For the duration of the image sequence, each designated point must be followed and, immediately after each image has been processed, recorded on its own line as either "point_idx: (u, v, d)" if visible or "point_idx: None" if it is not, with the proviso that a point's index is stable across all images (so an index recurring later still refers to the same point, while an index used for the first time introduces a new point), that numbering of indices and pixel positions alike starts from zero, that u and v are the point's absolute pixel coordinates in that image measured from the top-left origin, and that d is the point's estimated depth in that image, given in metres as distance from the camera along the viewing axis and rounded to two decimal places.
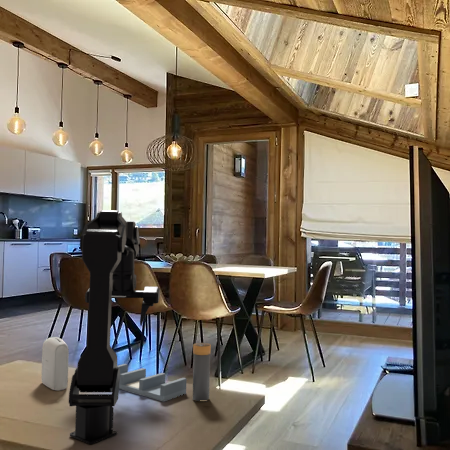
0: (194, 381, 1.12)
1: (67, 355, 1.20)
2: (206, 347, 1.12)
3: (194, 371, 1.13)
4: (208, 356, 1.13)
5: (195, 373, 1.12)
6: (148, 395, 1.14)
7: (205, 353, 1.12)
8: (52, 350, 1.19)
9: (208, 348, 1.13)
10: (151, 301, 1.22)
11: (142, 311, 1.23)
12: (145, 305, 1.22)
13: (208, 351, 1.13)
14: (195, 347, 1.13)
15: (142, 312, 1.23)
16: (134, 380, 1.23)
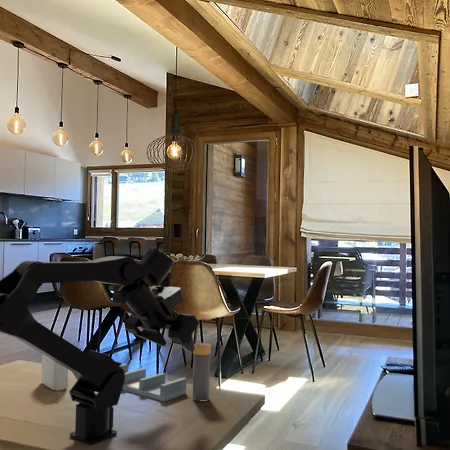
0: (194, 381, 1.12)
1: None
2: (206, 347, 1.12)
3: (194, 371, 1.13)
4: (208, 356, 1.13)
5: (195, 373, 1.12)
6: (148, 395, 1.14)
7: (205, 353, 1.12)
8: None
9: (208, 348, 1.13)
10: (178, 341, 0.98)
11: None
12: (176, 343, 1.00)
13: (208, 351, 1.13)
14: (195, 347, 1.13)
15: (180, 346, 1.02)
16: (134, 380, 1.23)
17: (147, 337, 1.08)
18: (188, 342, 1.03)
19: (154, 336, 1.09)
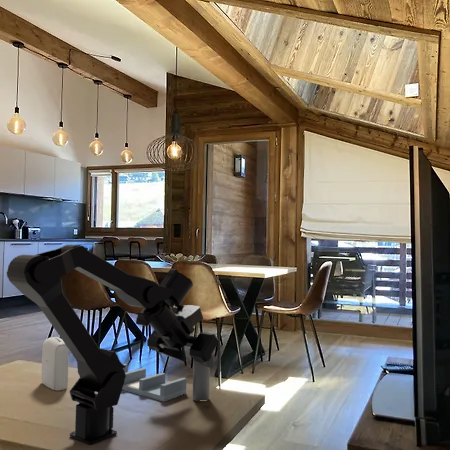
0: (194, 381, 1.12)
1: (67, 355, 1.20)
2: None
3: (194, 371, 1.13)
4: None
5: (195, 373, 1.12)
6: (148, 395, 1.14)
7: None
8: (52, 350, 1.19)
9: None
10: (199, 359, 1.02)
11: (200, 363, 1.06)
12: (197, 361, 1.04)
13: None
14: None
15: (201, 363, 1.06)
16: (134, 380, 1.23)
17: (168, 354, 1.12)
18: (208, 359, 1.07)
19: (175, 352, 1.14)
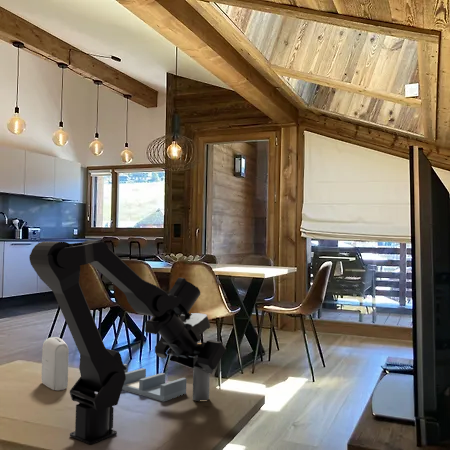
0: (194, 380, 1.12)
1: (67, 355, 1.20)
2: None
3: (194, 371, 1.13)
4: None
5: (195, 373, 1.12)
6: (148, 395, 1.14)
7: None
8: (52, 350, 1.19)
9: None
10: (207, 367, 1.04)
11: (199, 368, 1.09)
12: (197, 366, 1.08)
13: None
14: None
15: None
16: (134, 380, 1.23)
17: (183, 363, 1.13)
18: None
19: (189, 361, 1.14)
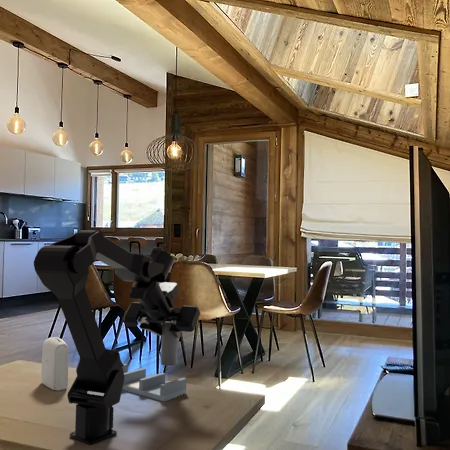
0: (164, 346, 1.18)
1: (67, 355, 1.20)
2: None
3: (164, 337, 1.18)
4: None
5: (165, 339, 1.18)
6: (148, 395, 1.14)
7: None
8: (52, 350, 1.19)
9: None
10: (185, 330, 1.11)
11: (172, 333, 1.15)
12: (172, 331, 1.14)
13: None
14: None
15: (173, 333, 1.16)
16: (134, 380, 1.23)
17: (153, 329, 1.17)
18: None
19: (157, 328, 1.19)
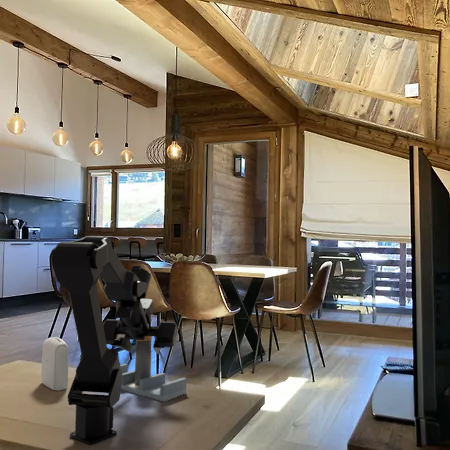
0: (139, 366, 1.20)
1: (67, 355, 1.20)
2: None
3: (139, 357, 1.20)
4: (151, 341, 1.22)
5: (140, 358, 1.20)
6: (148, 395, 1.14)
7: (150, 339, 1.21)
8: (52, 350, 1.19)
9: None
10: (166, 345, 1.15)
11: (155, 349, 1.18)
12: (157, 347, 1.16)
13: (151, 337, 1.22)
14: None
15: (155, 349, 1.18)
16: (134, 380, 1.23)
17: (123, 346, 1.19)
18: None
19: (127, 344, 1.20)
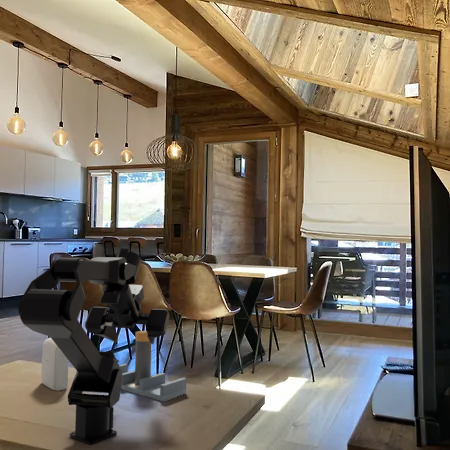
0: (139, 366, 1.20)
1: None
2: None
3: (139, 357, 1.20)
4: None
5: (140, 359, 1.20)
6: (148, 395, 1.14)
7: None
8: (52, 350, 1.19)
9: None
10: (157, 334, 1.06)
11: (150, 339, 1.09)
12: (151, 336, 1.07)
13: None
14: (140, 335, 1.20)
15: (150, 339, 1.10)
16: (134, 380, 1.23)
17: (107, 335, 1.10)
18: None
19: (111, 333, 1.12)
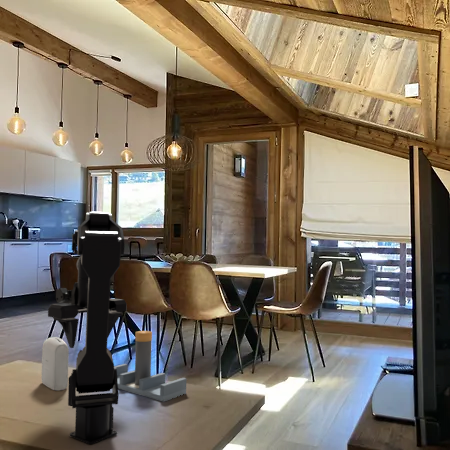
0: (139, 366, 1.20)
1: (67, 355, 1.20)
2: (150, 334, 1.21)
3: (138, 357, 1.20)
4: None
5: (140, 359, 1.20)
6: (148, 395, 1.14)
7: (149, 339, 1.21)
8: (52, 350, 1.19)
9: (151, 334, 1.22)
10: (122, 309, 1.16)
11: (112, 322, 1.15)
12: (117, 314, 1.15)
13: (151, 337, 1.22)
14: (140, 335, 1.20)
15: (112, 324, 1.15)
16: (134, 380, 1.23)
17: None
18: None
19: None
